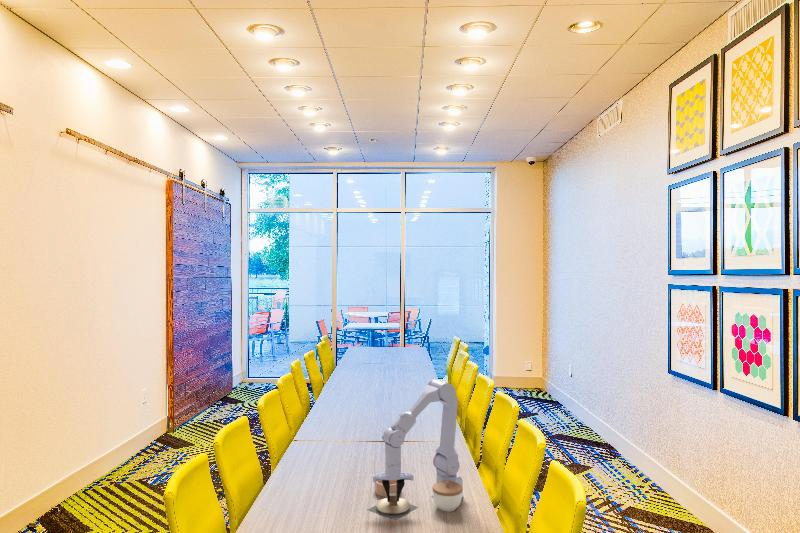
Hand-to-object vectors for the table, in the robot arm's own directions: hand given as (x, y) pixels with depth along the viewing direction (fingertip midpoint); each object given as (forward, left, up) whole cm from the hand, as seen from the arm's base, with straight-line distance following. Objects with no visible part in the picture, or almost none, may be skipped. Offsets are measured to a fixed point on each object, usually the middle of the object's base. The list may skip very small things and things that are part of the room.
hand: (393, 500), depth 199 cm
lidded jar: (-15, -13, -3) cm, 20 cm away
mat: (0, 0, -3) cm, 3 cm away
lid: (0, 0, -2) cm, 2 cm away
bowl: (+11, -11, -3) cm, 16 cm away
